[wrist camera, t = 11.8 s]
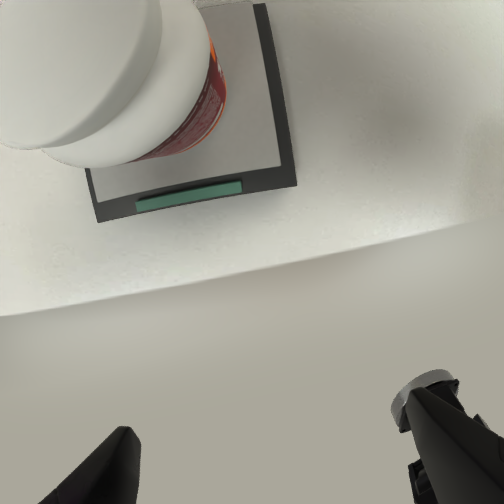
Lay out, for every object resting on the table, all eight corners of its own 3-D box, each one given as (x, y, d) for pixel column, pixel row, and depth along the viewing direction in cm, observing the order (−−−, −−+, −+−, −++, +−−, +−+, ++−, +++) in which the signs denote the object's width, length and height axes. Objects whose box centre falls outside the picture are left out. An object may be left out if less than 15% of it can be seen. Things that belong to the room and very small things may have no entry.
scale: (292, 181, 19) (299, 188, 16) (110, 215, 19) (91, 227, 16) (263, 15, 15) (266, -3, 12) (83, 61, 15) (62, 53, 13)
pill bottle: (252, 81, 14) (265, -26, 4) (182, 177, 16) (74, 249, 5) (158, 26, 13) (55, -84, 2) (94, 118, 14) (-67, 121, 4)
